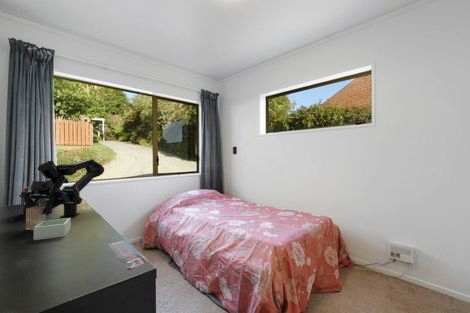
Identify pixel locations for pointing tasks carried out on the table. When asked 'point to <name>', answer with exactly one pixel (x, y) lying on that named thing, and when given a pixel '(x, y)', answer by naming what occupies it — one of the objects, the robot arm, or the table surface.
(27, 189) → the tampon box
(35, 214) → the tan upright block
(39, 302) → the table surface
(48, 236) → the pale green open tray
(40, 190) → the robot arm
